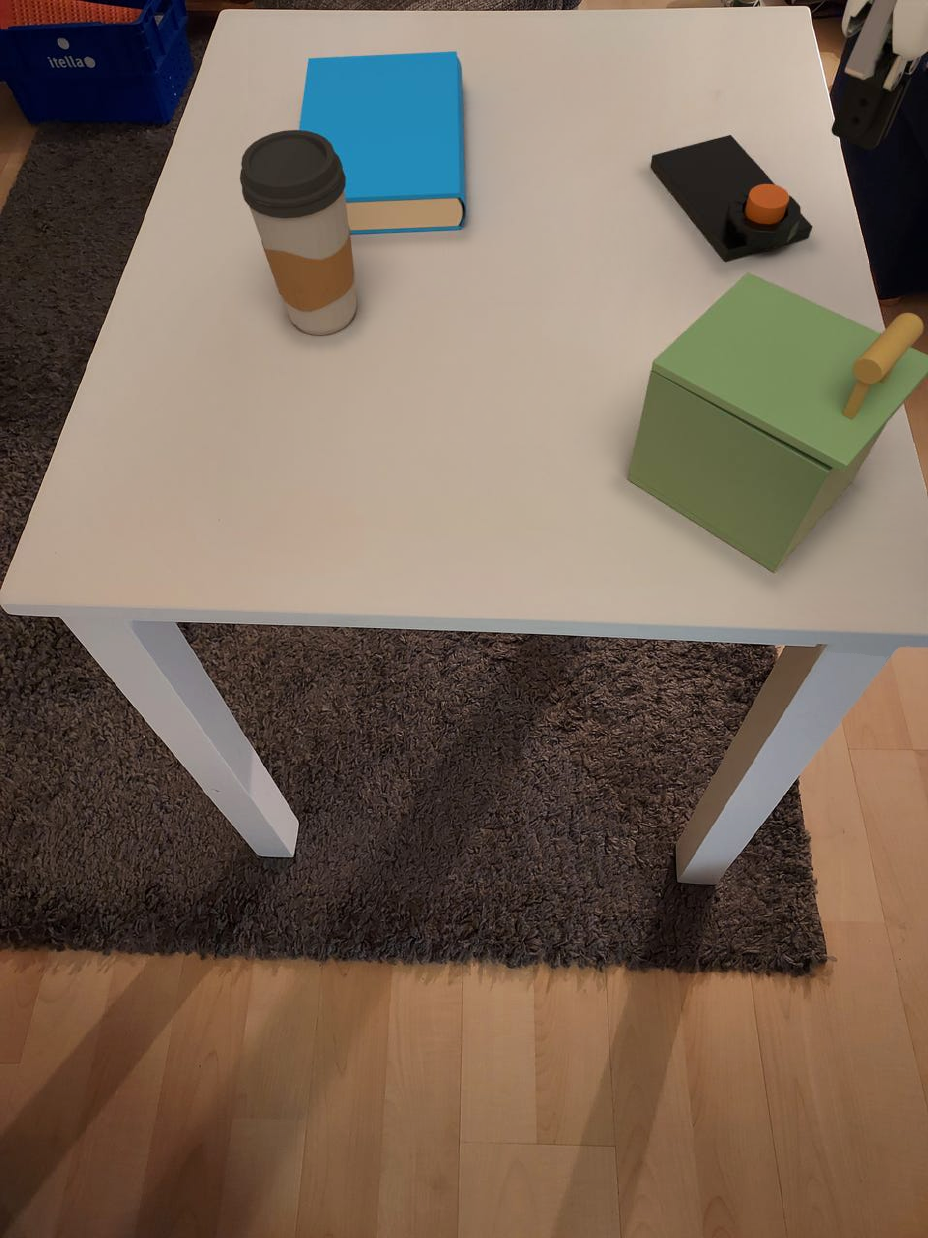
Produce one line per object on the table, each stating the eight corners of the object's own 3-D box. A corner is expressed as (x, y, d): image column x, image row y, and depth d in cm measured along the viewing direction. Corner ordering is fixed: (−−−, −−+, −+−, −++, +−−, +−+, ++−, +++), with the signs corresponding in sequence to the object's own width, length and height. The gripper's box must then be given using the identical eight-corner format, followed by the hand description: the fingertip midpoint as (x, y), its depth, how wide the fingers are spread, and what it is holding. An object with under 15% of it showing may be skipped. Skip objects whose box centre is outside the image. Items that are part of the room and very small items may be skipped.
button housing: (815, 246, 80) (826, 217, 78) (731, 270, 79) (739, 242, 76) (727, 146, 88) (734, 117, 86) (650, 166, 87) (654, 138, 84)
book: (288, 201, 80) (305, 54, 92) (298, 241, 84) (312, 94, 96) (468, 192, 80) (461, 45, 92) (469, 232, 83) (462, 86, 95)
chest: (853, 479, 67) (918, 368, 56) (774, 573, 63) (828, 472, 52) (709, 397, 71) (744, 281, 61) (627, 479, 67) (650, 370, 57)
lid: (933, 368, 56) (972, 298, 51) (843, 474, 52) (876, 408, 47) (745, 280, 61) (764, 209, 56) (650, 369, 57) (662, 301, 52)
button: (791, 219, 78) (796, 202, 77) (756, 228, 78) (761, 211, 76) (771, 196, 80) (776, 179, 78) (737, 206, 79) (742, 188, 78)
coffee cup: (381, 292, 79) (358, 135, 66) (346, 353, 75) (313, 199, 62) (302, 275, 81) (263, 118, 68) (263, 333, 77) (215, 179, 64)
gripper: (1015, -164, 36) (851, 217, 52) (1148, -273, 41) (961, 105, 57) (857, -208, 38) (747, 169, 55) (1001, -306, 44) (862, 66, 60)
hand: (857, 136), depth 56 cm, fingers closed
